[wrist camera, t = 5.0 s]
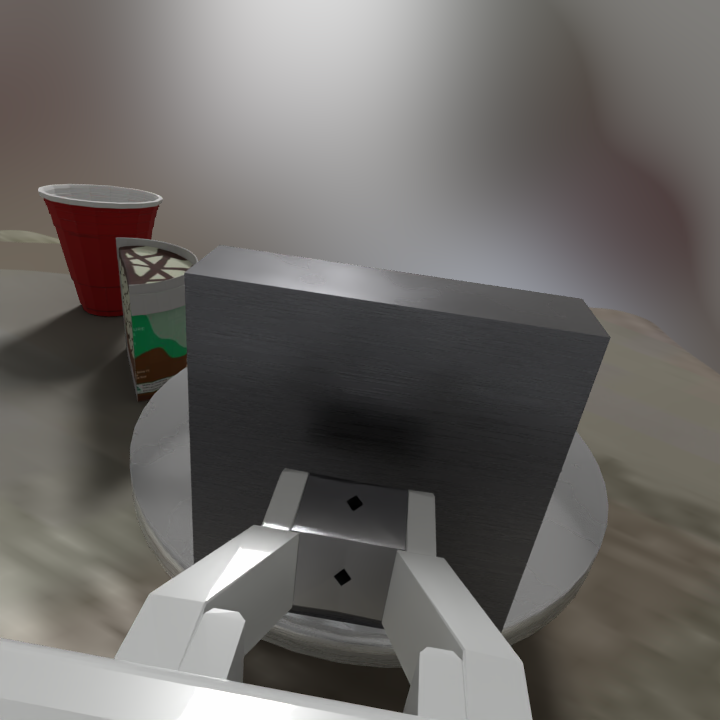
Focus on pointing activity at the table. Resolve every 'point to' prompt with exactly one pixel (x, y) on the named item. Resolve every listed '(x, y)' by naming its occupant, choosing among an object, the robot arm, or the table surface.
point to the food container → (153, 310)
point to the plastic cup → (98, 236)
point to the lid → (380, 427)
